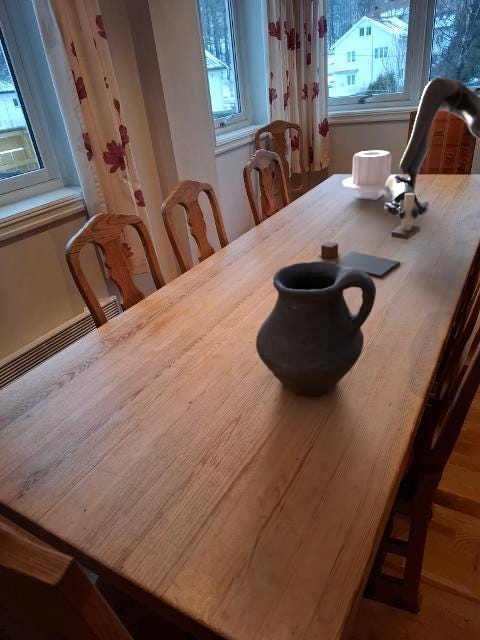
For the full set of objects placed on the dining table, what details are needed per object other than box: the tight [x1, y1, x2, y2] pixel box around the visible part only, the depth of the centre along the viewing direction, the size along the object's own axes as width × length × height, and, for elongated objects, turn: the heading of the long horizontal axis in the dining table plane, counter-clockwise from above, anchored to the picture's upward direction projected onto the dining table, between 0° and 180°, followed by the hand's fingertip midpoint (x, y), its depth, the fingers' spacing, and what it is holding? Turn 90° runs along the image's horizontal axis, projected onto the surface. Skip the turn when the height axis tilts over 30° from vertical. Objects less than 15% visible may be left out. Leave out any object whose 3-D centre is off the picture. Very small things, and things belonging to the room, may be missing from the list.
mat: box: [335, 251, 400, 278], centre depth 134 cm, size 16×12×1 cm
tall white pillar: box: [390, 193, 421, 245], centre depth 132 cm, size 8×5×14 cm, turn 136°
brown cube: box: [320, 241, 339, 260], centre depth 142 cm, size 4×4×4 cm
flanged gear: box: [342, 150, 392, 201], centre depth 196 cm, size 25×25×19 cm
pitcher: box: [255, 260, 377, 397], centre depth 81 cm, size 21×22×25 cm
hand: (408, 215), depth 129 cm, fingers closed on tall white pillar, 3 cm apart
